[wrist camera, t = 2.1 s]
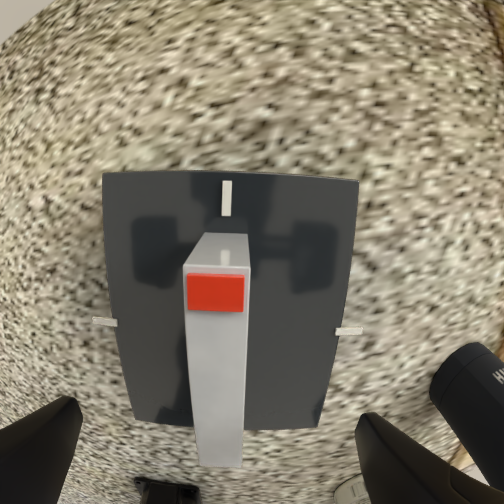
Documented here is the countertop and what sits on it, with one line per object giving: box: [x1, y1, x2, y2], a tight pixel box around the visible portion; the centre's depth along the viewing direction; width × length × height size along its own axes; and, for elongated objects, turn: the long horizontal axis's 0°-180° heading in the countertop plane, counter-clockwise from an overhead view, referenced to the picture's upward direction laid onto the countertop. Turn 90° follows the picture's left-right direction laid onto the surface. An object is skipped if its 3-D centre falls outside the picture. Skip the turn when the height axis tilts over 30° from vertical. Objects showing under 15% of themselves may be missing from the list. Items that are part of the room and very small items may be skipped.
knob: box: [183, 232, 251, 468], centre depth 11 cm, size 9×2×5 cm, turn 177°
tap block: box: [92, 170, 363, 430], centre depth 15 cm, size 14×13×3 cm
